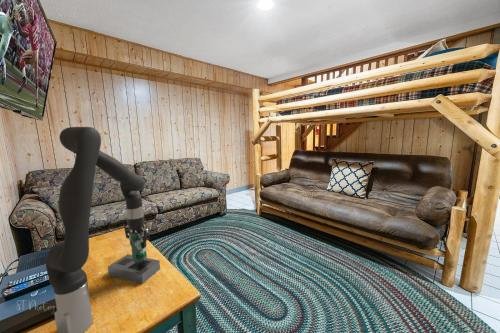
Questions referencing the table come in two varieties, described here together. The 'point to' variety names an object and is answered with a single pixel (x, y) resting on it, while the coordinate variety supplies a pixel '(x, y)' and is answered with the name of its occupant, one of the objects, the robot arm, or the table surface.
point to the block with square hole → (134, 269)
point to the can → (137, 248)
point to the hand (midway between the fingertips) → (138, 246)
